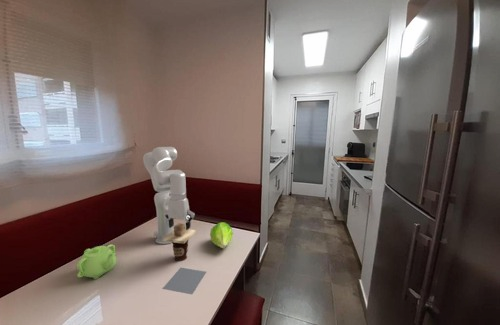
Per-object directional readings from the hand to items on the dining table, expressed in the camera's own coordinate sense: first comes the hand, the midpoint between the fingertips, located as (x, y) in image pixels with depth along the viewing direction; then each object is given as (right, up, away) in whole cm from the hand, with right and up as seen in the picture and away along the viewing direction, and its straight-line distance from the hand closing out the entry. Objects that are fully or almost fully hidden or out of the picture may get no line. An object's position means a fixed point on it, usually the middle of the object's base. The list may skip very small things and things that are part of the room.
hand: (179, 227), depth 103 cm
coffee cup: (0, -18, +2) cm, 18 cm away
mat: (+8, -20, -13) cm, 25 cm away
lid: (0, -5, +1) cm, 5 cm away
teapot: (-35, -19, -8) cm, 41 cm away
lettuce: (+20, -16, +15) cm, 30 cm away
